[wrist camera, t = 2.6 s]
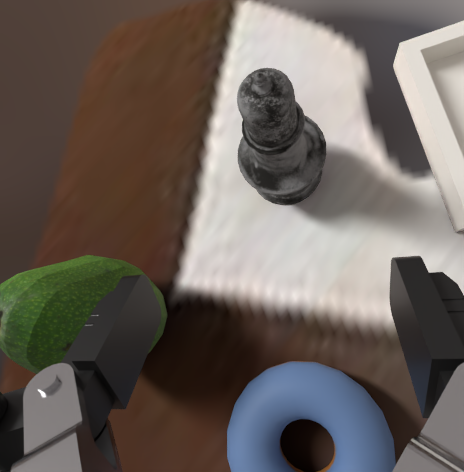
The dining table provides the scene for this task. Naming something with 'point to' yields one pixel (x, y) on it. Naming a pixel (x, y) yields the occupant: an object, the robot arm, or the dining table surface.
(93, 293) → the avocado
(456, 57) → the ceramic dish
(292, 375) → the doughnut
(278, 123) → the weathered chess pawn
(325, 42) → the dining table surface
